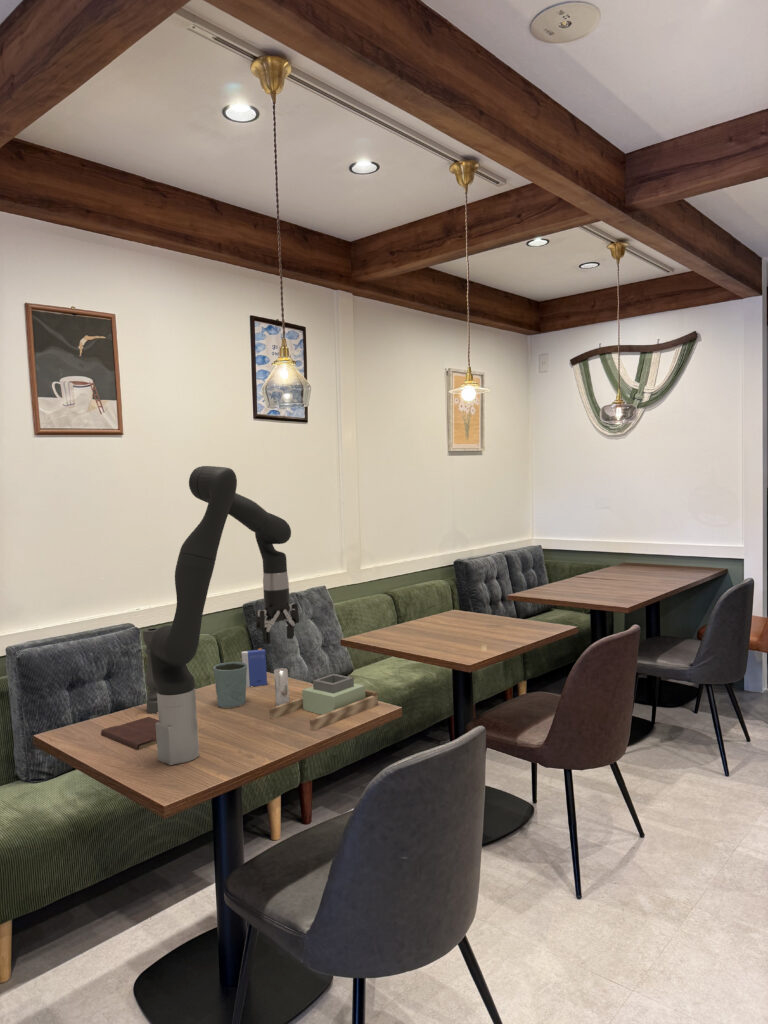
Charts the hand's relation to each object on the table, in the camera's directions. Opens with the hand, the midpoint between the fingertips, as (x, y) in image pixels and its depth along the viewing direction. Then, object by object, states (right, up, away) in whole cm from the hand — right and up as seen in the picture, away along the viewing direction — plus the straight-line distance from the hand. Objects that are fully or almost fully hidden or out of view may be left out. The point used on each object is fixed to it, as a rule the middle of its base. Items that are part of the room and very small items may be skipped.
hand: (279, 641), depth 218 cm
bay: (+14, -20, -7) cm, 26 cm away
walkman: (-12, -20, +28) cm, 37 cm away
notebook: (-35, -24, -15) cm, 45 cm away
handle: (+1, -21, +1) cm, 21 cm away
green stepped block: (+17, -19, -4) cm, 26 cm away
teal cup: (-16, -21, +9) cm, 28 cm away
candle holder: (-38, -23, +6) cm, 45 cm away
